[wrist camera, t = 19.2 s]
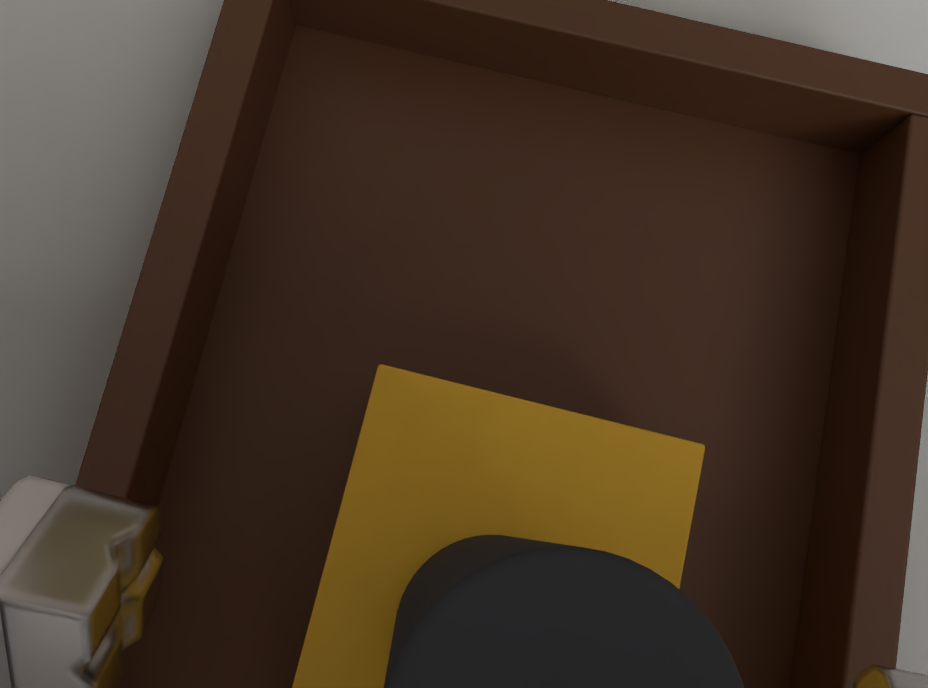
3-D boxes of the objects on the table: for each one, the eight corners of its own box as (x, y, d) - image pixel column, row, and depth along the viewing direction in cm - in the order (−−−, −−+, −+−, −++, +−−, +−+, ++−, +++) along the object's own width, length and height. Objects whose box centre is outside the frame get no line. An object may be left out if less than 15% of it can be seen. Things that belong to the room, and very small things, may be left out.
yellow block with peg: (573, 849, 14) (844, 1396, 5) (283, 778, 14) (66, 1208, 5) (651, 459, 15) (968, 374, 7) (385, 393, 15) (348, 220, 7)
